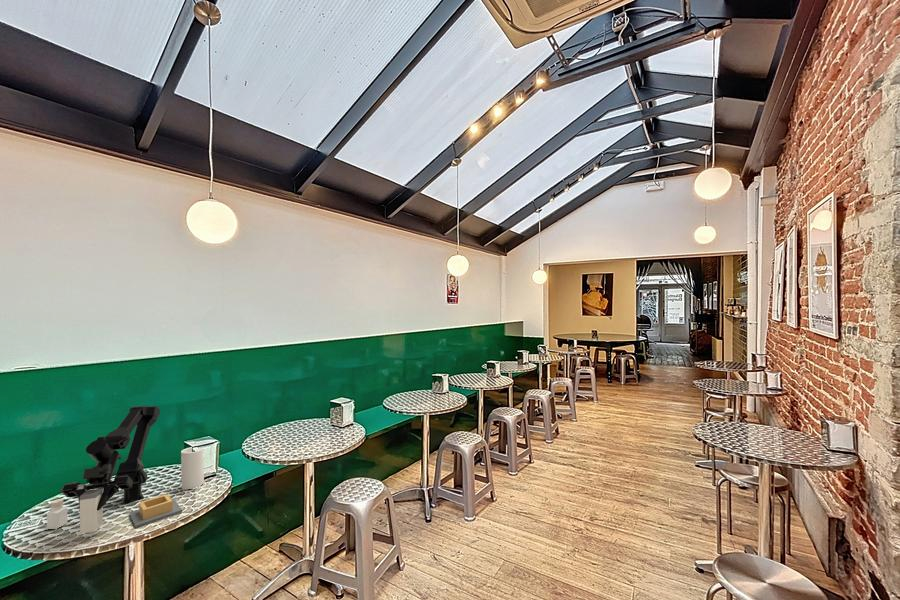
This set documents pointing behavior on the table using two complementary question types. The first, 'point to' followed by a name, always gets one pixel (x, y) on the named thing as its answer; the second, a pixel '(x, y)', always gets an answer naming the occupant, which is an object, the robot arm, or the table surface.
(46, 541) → the table surface
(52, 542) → the table surface
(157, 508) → the socket plate
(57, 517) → the pepper shaker
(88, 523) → the plug
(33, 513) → the table surface
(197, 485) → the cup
